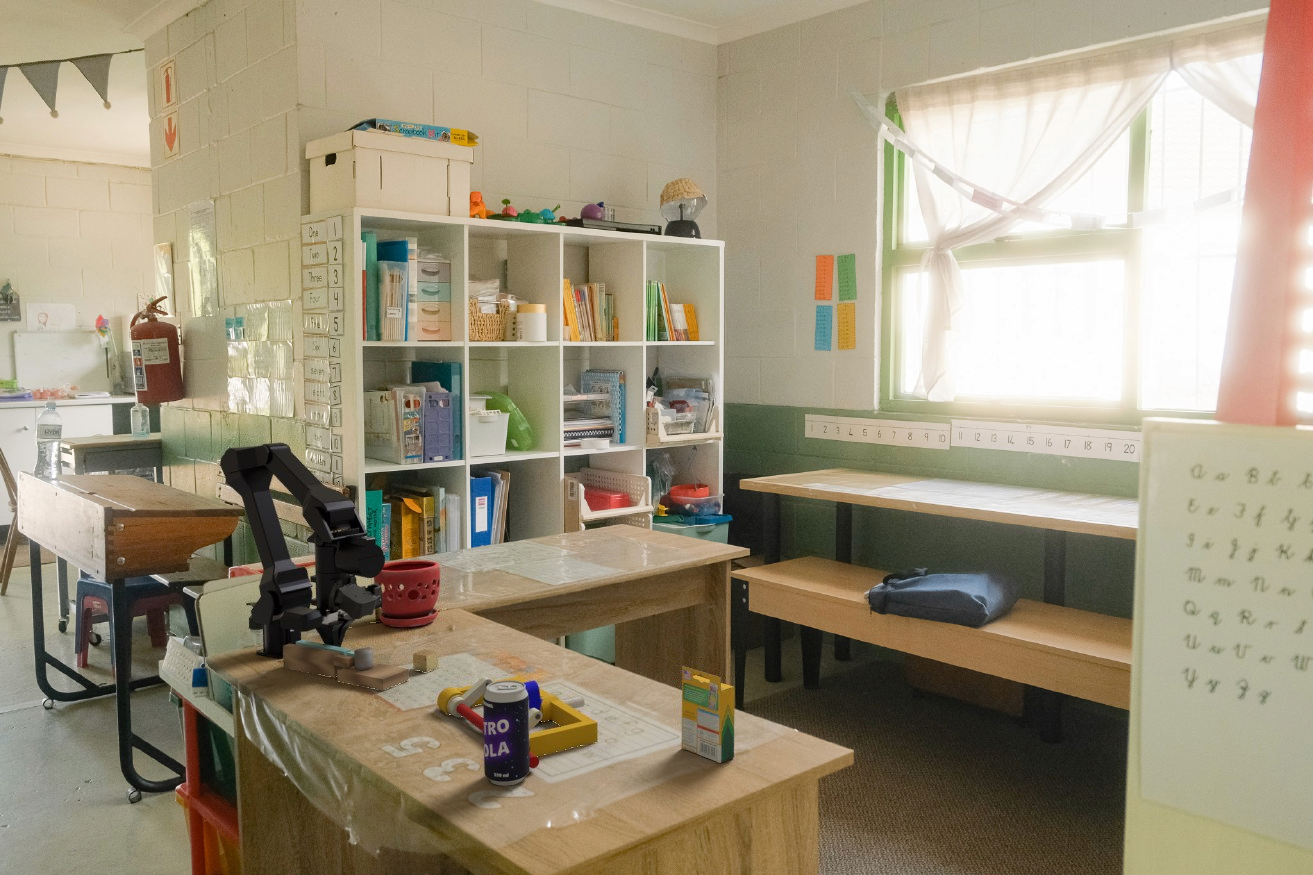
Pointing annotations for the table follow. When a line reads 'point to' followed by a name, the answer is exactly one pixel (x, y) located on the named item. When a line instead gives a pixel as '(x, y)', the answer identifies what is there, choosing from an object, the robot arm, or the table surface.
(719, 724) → the crayon box
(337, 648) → the bar
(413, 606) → the plant pot
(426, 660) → the block
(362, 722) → the table surface
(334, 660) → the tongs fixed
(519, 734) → the beverage can
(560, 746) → the mechanical clamp
